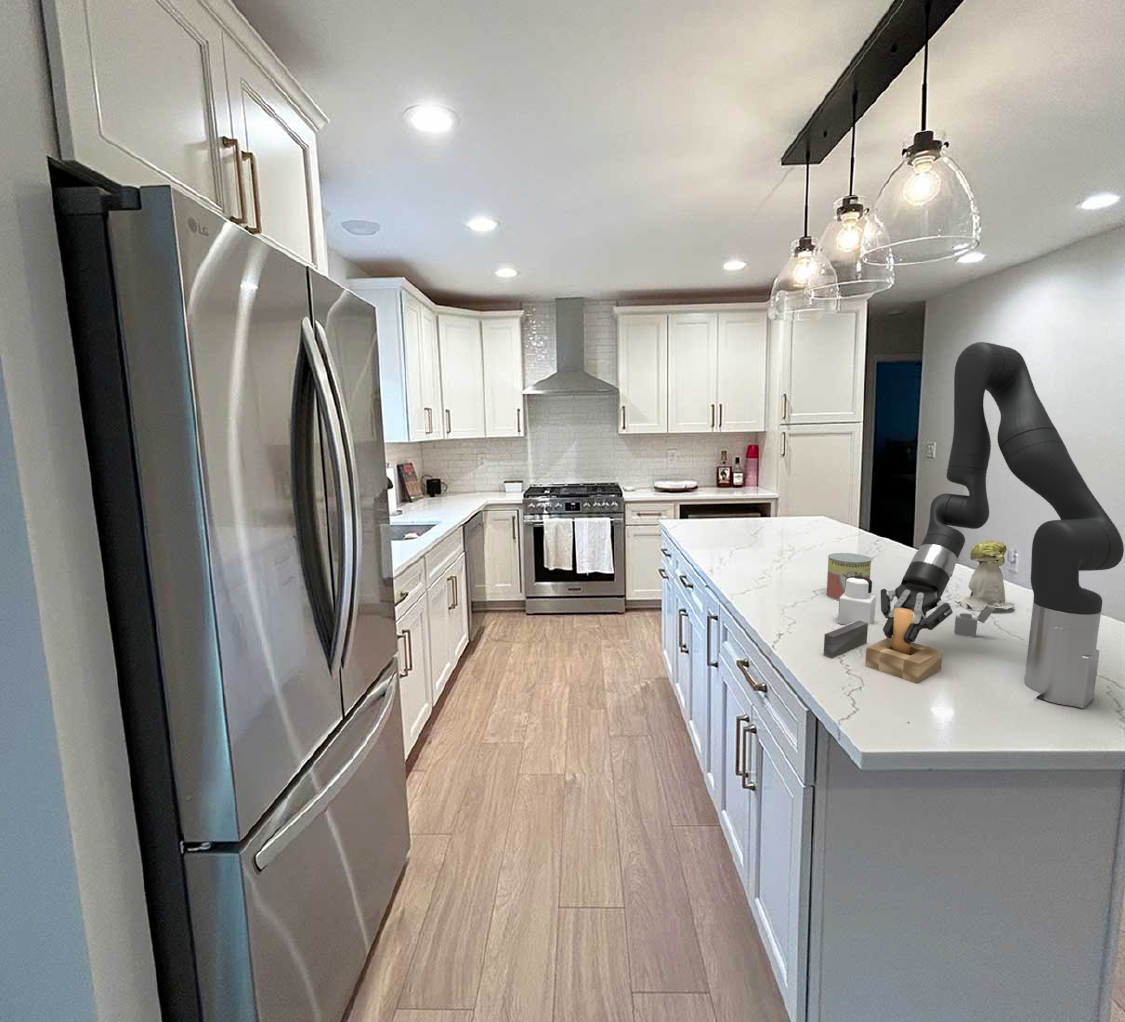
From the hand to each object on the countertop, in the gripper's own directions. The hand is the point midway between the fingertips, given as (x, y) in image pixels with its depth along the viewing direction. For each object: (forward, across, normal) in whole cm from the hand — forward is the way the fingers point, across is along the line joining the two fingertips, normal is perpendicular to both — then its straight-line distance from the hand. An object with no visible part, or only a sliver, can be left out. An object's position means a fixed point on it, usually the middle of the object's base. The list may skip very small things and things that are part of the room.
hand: (896, 638), depth 112 cm
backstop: (+4, -3, +7) cm, 9 cm away
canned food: (-24, -34, +35) cm, 54 cm away
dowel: (+2, 0, +5) cm, 5 cm away
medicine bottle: (-11, -20, +22) cm, 32 cm away
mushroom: (-39, -7, +50) cm, 64 cm away
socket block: (+3, +1, +6) cm, 7 cm away
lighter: (-20, 0, +31) cm, 37 cm away
